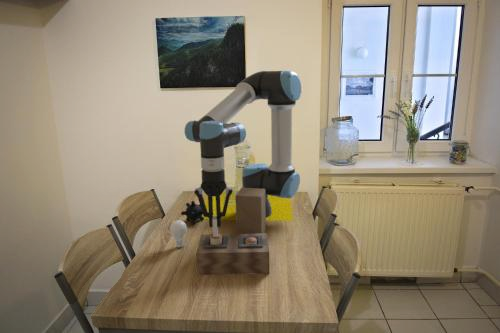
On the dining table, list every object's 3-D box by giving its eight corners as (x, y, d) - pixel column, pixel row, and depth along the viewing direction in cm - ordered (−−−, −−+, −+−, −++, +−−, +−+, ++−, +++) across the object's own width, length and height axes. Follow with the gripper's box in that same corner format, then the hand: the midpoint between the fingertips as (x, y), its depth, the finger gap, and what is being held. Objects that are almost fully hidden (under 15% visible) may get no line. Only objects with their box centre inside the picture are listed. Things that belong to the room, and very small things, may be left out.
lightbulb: (179, 242, 148) (178, 216, 145) (191, 246, 144) (189, 219, 141) (167, 248, 143) (165, 221, 140) (179, 252, 139) (177, 225, 136)
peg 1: (215, 254, 133) (214, 232, 131) (224, 256, 131) (223, 234, 129) (208, 259, 130) (207, 236, 127) (218, 261, 128) (217, 239, 125)
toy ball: (212, 210, 172) (209, 213, 160) (196, 226, 172) (192, 231, 160) (195, 194, 172) (191, 196, 160) (180, 210, 172) (174, 214, 160)
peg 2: (249, 258, 133) (248, 236, 131) (258, 260, 131) (258, 238, 129) (243, 263, 130) (242, 240, 128) (253, 265, 128) (253, 243, 126)
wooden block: (261, 245, 143) (261, 196, 138) (236, 243, 145) (235, 195, 140) (265, 234, 153) (265, 188, 148) (242, 232, 155) (241, 187, 150)
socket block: (197, 274, 124) (196, 251, 122) (202, 254, 138) (201, 232, 135) (269, 273, 124) (269, 250, 122) (267, 253, 138) (267, 231, 135)
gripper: (191, 172, 118) (195, 240, 124) (232, 171, 118) (234, 239, 124) (194, 166, 125) (198, 230, 131) (233, 165, 125) (234, 230, 131)
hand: (215, 235), depth 128 cm, fingers closed
